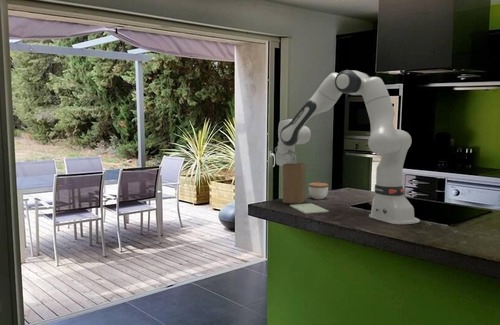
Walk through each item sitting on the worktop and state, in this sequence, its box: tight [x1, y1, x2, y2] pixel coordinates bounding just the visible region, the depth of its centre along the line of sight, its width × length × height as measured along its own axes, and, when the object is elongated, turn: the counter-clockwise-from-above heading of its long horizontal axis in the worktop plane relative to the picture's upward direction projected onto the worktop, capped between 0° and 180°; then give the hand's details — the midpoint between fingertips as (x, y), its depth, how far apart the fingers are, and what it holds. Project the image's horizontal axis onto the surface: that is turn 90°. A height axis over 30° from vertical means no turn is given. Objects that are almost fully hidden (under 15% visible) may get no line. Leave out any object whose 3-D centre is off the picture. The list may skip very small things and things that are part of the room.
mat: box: [289, 202, 330, 215], centre depth 220 cm, size 18×12×1 cm, turn 19°
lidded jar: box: [308, 180, 329, 200], centre depth 247 cm, size 11×11×9 cm
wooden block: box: [282, 162, 306, 205], centre depth 233 cm, size 10×10×20 cm
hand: (286, 175), depth 243 cm, fingers closed
